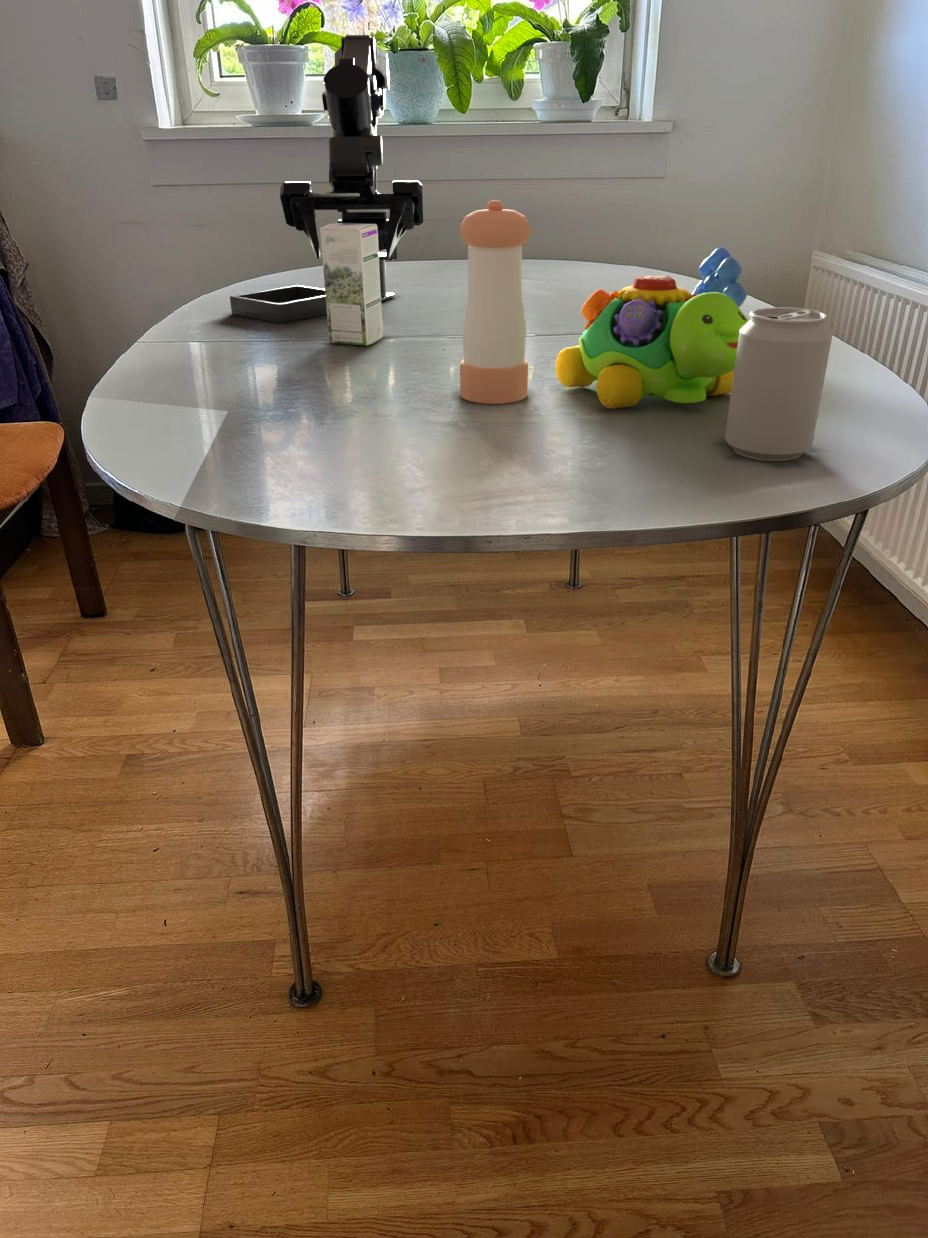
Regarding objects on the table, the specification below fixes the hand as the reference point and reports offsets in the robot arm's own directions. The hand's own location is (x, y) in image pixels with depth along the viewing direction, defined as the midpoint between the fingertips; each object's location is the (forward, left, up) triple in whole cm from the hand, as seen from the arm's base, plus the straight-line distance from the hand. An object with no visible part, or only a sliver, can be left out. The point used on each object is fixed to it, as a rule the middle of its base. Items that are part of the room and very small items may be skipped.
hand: (352, 256), depth 120 cm
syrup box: (+2, +1, -10) cm, 11 cm away
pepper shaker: (+22, +27, -10) cm, 37 cm away
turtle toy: (+17, +44, -10) cm, 49 cm away
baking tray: (-14, -18, -10) cm, 25 cm away
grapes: (-8, +46, -11) cm, 48 cm away
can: (+32, +56, -10) cm, 66 cm away
